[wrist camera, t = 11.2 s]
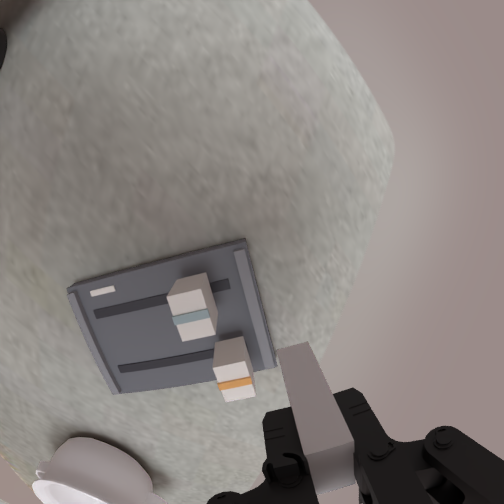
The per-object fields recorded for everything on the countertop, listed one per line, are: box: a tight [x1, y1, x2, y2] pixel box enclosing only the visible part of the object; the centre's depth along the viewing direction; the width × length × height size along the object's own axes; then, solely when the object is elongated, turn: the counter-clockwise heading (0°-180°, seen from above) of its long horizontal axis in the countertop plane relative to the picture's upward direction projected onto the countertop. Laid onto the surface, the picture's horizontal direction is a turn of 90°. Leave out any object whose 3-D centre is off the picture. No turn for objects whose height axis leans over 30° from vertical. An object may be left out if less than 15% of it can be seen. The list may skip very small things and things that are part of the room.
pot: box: [32, 437, 168, 504], centre depth 31 cm, size 22×17×12 cm
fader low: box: [213, 336, 256, 402], centre depth 27 cm, size 3×4×6 cm
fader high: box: [167, 272, 218, 342], centre depth 26 cm, size 3×4×6 cm
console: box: [67, 238, 277, 395], centre depth 30 cm, size 20×14×3 cm
